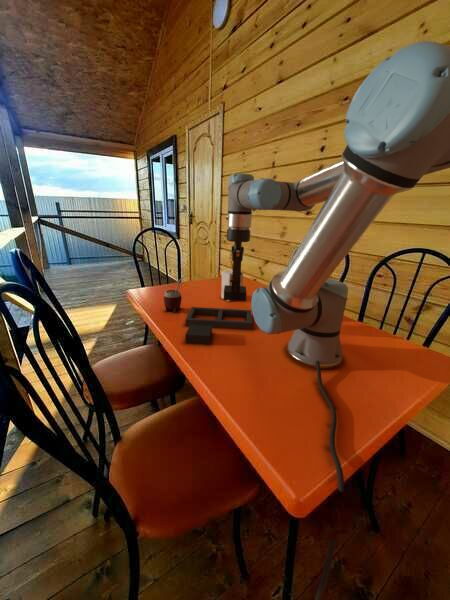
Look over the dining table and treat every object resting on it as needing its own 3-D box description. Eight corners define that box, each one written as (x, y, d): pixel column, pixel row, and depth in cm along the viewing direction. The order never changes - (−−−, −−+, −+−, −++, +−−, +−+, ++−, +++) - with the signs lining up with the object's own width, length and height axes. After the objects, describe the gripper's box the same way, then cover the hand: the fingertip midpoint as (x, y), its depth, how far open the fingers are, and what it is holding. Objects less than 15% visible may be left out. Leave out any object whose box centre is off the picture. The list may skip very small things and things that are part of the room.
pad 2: (245, 301, 85) (246, 292, 84) (223, 300, 85) (223, 291, 84) (245, 294, 92) (245, 286, 91) (224, 293, 92) (224, 285, 91)
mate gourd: (162, 308, 106) (160, 273, 101) (180, 305, 110) (179, 271, 105) (167, 314, 100) (166, 277, 95) (186, 311, 104) (186, 275, 99)
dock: (251, 329, 90) (252, 323, 89) (185, 325, 91) (185, 319, 90) (250, 315, 102) (250, 310, 101) (191, 312, 103) (191, 306, 102)
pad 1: (209, 344, 79) (209, 336, 78) (185, 343, 79) (185, 334, 78) (212, 333, 86) (212, 325, 85) (190, 332, 86) (190, 324, 85)
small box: (233, 295, 126) (235, 269, 122) (242, 298, 122) (243, 272, 117) (220, 297, 122) (221, 271, 117) (228, 301, 117) (229, 274, 113)
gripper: (227, 225, 90) (225, 287, 98) (225, 230, 71) (222, 306, 79) (249, 226, 90) (244, 288, 98) (252, 231, 71) (246, 307, 79)
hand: (234, 296), depth 88 cm, fingers closed on pad 2, 7 cm apart
